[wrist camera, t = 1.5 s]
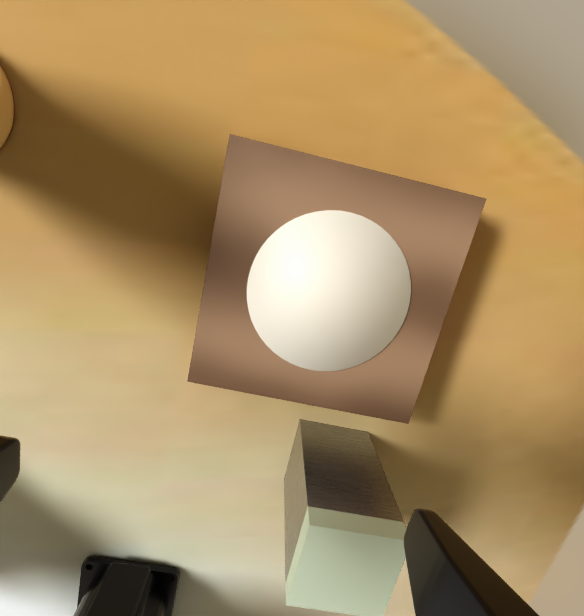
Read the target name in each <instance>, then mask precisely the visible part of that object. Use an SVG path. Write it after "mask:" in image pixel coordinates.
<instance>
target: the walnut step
mask: <svg viewBox="0 0 584 616" xmlns="http://www.w3.org/2000/svg"><path fill="white" fill-rule="evenodd" d="M485 201H486V199H485V198H481V197H478V196H474V195H470V194H466V193H462V192H458V191H454V190H450V189H446V188H442V187H438V186H434V185H430V184H426V183H422V182H418V181H414V180H410V179H406V178H402V177H398V176H394V175H390V174H386V173H382V172H378V171H374V170H370V169H366V168H362V167H358V166H354V165H350V164H346V163H343V162H339V161H335V160H331V159H327V158H323V157H319V156H315V155H311V154H307V153H303V152H299V151H295V150H291V149H287V148H283V147H279V146H275V145H271V144H267V143H263V142H259V141H255V140H251V139H247V138H243V137H239V136H235V135H231V134H230V136H229V141H228V147H227V153H226V159H225V165H224V171H223V176H222V182H221V188H220V194H219V200H218V206H217V212H216V217H215V223H214V229H213V235H212V241H211V247H210V252H209V258H208V264H207V270H206V276H205V282H204V288H203V293H202V299H201V305H200V311H199V317H198V323H197V328H196V334H195V340H194V346H193V352H192V358H191V363H190V369H189V375H188V382H193V383H198V384H203V385H209V386H214V387H219V388H224V389H230V390H235V391H240V392H245V393H250V394H256V395H261V396H266V397H271V398H277V399H282V400H287V401H292V402H298V403H303V404H308V405H313V406H318V407H324V408H329V409H334V410H339V411H345V412H350V413H355V414H360V415H365V416H371V417H376V418H381V419H386V420H392V421H397V422H402V423H407V424H408V423H409V420H410V417H411V415H412V412H413V409H414V406H415V403H416V400H417V397H418V394H419V392H420V389H421V386H422V383H423V380H424V377H425V374H426V371H427V369H428V366H429V363H430V360H431V357H432V354H433V351H434V348H435V345H436V343H437V340H438V337H439V334H440V331H441V328H442V325H443V322H444V320H445V317H446V314H447V311H448V308H449V305H450V302H451V299H452V296H453V294H454V291H455V288H456V285H457V282H458V279H459V276H460V273H461V271H462V268H463V265H464V262H465V259H466V256H467V253H468V250H469V247H470V245H471V242H472V239H473V236H474V233H475V230H476V227H477V224H478V222H479V219H480V216H481V213H482V210H483V207H484V204H485Z"/></svg>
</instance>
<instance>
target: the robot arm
mask: <svg viewBox="0 0 584 616" xmlns="http://www.w3.org/2000/svg"><path fill="white" fill-rule="evenodd" d="M19 471H20V442H19V440H18V439H16V438H12V437H6V436H0V502H1V501H2V500H3V498H4V497H5V495H6V494H7V492H8V491H9V490H10V488H11V487H12V485H13V484H14V482H15V481H16V479H17V477H18V474H19ZM404 550H405V556H406V562H407V568H408V573H409V579H410V585H411V591H412V597H413V603H414V609H415V614H416V616H539V615H538V614H537V613H536V612H535V611H534V610H533V609H532V608H531V607H530V606H529V605H528V604H527V603H526V602H525V601H524V600H523V599H522V598H521V597H520V596H519V595H518V594H517V593H516V592H515V591H514V590H513V589H512V588H511V587H510V586H509V585H508V584H507V583H506V582H505V581H504V580H503V579H502V578H501V577H500V576H499V575H498V574H497V573H496V572H495V571H494V570H493V569H492V568H491V567H490V566H489V565H488V564H487V563H486V562H485V561H483V560H482V559H481V558H480V557H479V556H478V555H477V554H476V553H475V552H474V551H473V550H472V549H471V548H470V547H469V546H468V545H467V544H466V543H465V542H464V541H463V540H462V539H461V538H460V537H459V536H458V535H457V534H456V533H455V532H454V531H453V530H452V529H451V528H450V527H449V526H448V525H447V524H446V523H445V522H444V521H443V520H442V519H441V518H440V517H439V516H438V515H437V514H436V513H435V512H433V511H431V510H425V509H416V510H415V511H414V512H413V514H412V517H411V519H410V522H409V524H408V527H407V529H406V532H405V535H404ZM179 575H180V572H179V571H178V570H177V569H176V568H171V567H164V566H158V565H151V564H144V563H137V562H130V561H124V560H117V559H110V558H103V557H96V556H88V557H87V558H86V559H85V560H84V562H83V564H82V568H81V577H80V587H79V596H78V605H77V610H76V612H75V614H74V616H172V612H173V606H174V601H175V596H176V591H177V586H178V581H179Z"/></svg>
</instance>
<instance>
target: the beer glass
mask: <svg viewBox="0 0 584 616" xmlns="http://www.w3.org/2000/svg"><path fill="white" fill-rule="evenodd" d="M13 118H14V102H13V96H12V91H11V88H10V85H9V82H8V79H7V77H6V75H5V73H4V71H3V69H2V68H1V66H0V147H1V146H2V145H3V144H4V142H5V141H6V139H7V137H8V135H9V133H10V131H11V128H12V124H13Z"/></svg>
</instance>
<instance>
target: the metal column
mask: <svg viewBox="0 0 584 616" xmlns="http://www.w3.org/2000/svg"><path fill="white" fill-rule="evenodd" d="M284 497H285V574H286V606H294V607H301V608H308V609H315V610H322V611H329V612H336V613H343V614H350V615H357V616H383V615H384V612H385V610H386V607H387V604H388V602H389V599H390V597H391V594H392V591H393V589H394V586H395V584H396V581H397V578H398V576H399V573H400V571H401V568H402V565H403V563H404V560H405V558H406V556H405V550H404V535H405V532H406V526H405V523H404V521H403V518H402V516H401V513H400V511H399V508H398V506H397V503H396V501H395V498H394V496H393V493H392V491H391V488H390V486H389V483H388V481H387V478H386V476H385V473H384V471H383V468H382V466H381V463H380V461H379V458H378V455H377V453H376V450H375V448H374V445H373V443H372V440H371V438H370V435H369V433H368V432H366V431H360V430H355V429H350V428H344V427H339V426H334V425H328V424H323V423H318V422H312V421H307V420H302V419H300V420H299V424H298V428H297V432H296V436H295V439H294V443H293V447H292V451H291V455H290V459H289V462H288V466H287V470H286V474H285V478H284Z"/></svg>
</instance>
